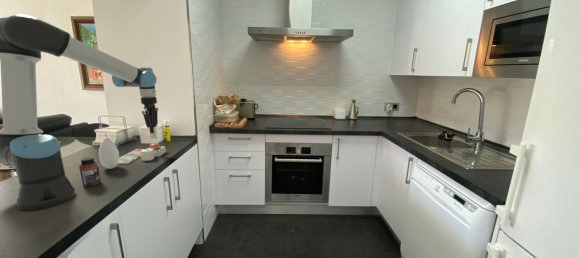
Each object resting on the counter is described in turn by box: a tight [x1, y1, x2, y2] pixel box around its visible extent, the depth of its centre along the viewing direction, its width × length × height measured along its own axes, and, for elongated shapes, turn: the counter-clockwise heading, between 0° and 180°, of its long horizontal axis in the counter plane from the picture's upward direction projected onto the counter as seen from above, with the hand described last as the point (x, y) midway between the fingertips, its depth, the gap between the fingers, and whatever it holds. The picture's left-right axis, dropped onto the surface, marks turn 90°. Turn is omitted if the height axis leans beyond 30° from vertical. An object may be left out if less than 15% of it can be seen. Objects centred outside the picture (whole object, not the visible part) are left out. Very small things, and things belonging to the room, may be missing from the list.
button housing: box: [147, 145, 167, 158], centre depth 140 cm, size 8×8×4 cm
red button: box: [149, 142, 160, 150], centre depth 139 cm, size 5×5×3 cm
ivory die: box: [140, 148, 155, 162], centre depth 132 cm, size 5×5×5 cm
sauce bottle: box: [98, 132, 120, 170], centre depth 117 cm, size 8×8×18 cm
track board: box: [116, 148, 144, 166], centre depth 136 cm, size 24×9×1 cm, turn 2°
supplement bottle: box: [78, 156, 102, 188], centre depth 101 cm, size 6×6×11 cm
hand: (154, 138), depth 138 cm, fingers closed
